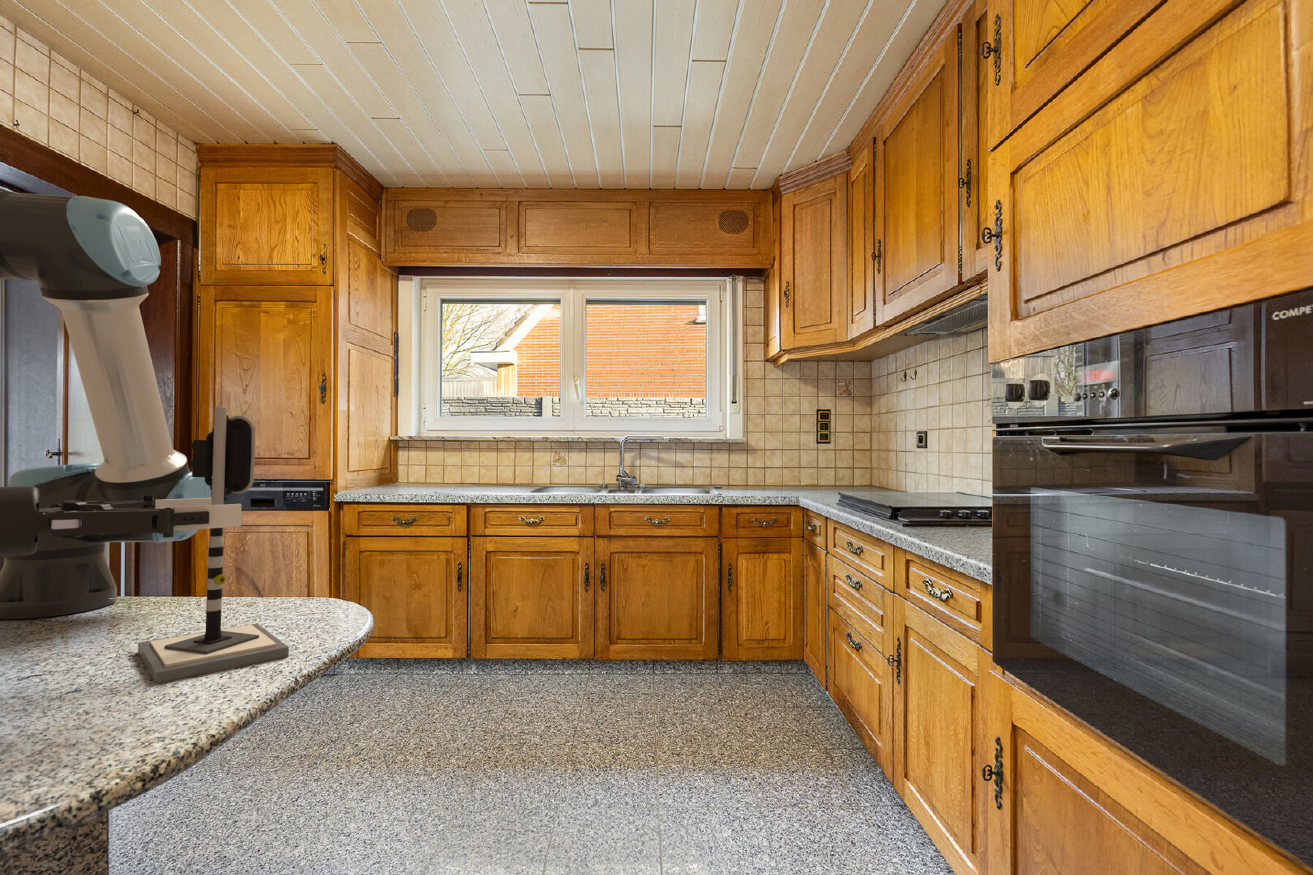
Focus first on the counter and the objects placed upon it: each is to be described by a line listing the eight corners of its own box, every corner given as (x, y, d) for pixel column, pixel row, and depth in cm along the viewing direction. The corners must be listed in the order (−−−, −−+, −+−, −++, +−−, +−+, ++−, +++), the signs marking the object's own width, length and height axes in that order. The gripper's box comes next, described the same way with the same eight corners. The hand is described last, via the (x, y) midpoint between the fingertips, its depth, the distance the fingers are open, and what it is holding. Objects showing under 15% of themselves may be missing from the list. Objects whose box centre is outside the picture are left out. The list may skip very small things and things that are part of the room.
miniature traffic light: (263, 636, 80) (270, 409, 81) (206, 654, 72) (215, 404, 73) (220, 631, 82) (227, 409, 83) (161, 648, 75) (170, 405, 75)
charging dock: (137, 652, 77) (138, 640, 77) (256, 631, 87) (256, 621, 87) (156, 683, 67) (156, 669, 67) (288, 656, 76) (288, 644, 77)
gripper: (-13, 545, 72) (206, 531, 88) (-23, 575, 55) (251, 551, 70) (-10, 482, 72) (207, 479, 88) (-19, 493, 55) (253, 486, 71)
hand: (227, 511), depth 79 cm, fingers open, 13 cm apart
